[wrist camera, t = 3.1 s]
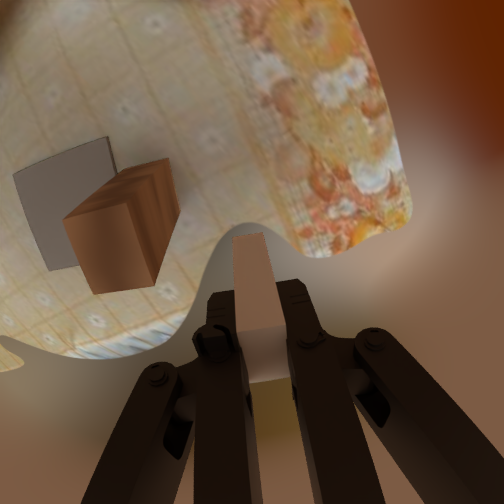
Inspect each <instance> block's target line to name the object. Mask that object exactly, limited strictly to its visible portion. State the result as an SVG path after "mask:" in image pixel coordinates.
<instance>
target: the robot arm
mask: <svg viewBox="0 0 504 504" xmlns="http://www.w3.org/2000/svg"><path fill="white" fill-rule="evenodd" d="M232 241H233V242H232V243H233V265H234V266H233V268H234V290H229V291H222V292H216V293H213V294H212V295H211V297H210V298H209V300H208V302H207V316H206V317H207V319H206V324H205V325H203V326H202V327H200V328H198V330H197V331H196V332H195V333H194V335H193V338H192V340H193V343H194V346H195V348H196V351H197V353H198V357H197V358H196V359H195V360H193V361H192V362H189V363H187V364H185V365H182V366H179V367H174V366H173V365H172V364H171V363H168V362H157V363H154V364H151V365H149V366H148V367H147V368H145V369H144V371H143V372H142V373H141V375H140V377H139V379H138V381H137V383H136V385H135V387H134V389H133V391H132V393H131V395H130V397H129V399H128V401H127V403H126V405H125V407H124V409H123V411H122V413H121V415H120V417H119V420H118V421H117V423H116V426H115V428H114V430H113V432H112V434H111V436H110V439H109V441H108V443H107V445H106V447H105V449H104V451H103V454H102V456H101V459H100V460H99V462H98V465H97V467H96V469H95V471H94V474H93V476H92V478H91V480H90V483H89V485H88V487H87V490H86V492H85V494H84V497H83V499H82V502H81V504H173V503H174V500H175V497H176V494H177V491H178V487H179V484H180V481H181V478H182V475H183V472H184V469H185V465H186V462H187V459H188V456H189V453H190V450H191V446H192V443H193V440H194V437H195V445H194V504H263V499H262V490H261V481H260V472H259V463H258V453H257V444H256V434H255V425H254V414H253V405H252V395H251V392H250V388H249V383H255V382H262V381H268V380H275V379H280V378H286V377H291V381H292V395H293V400H294V401H295V406H296V411H297V416H298V421H299V425H300V431H301V436H302V441H303V446H304V450H305V456H306V461H307V466H308V471H309V476H310V481H311V487H312V492H313V497H314V503H315V504H386V503H385V500H384V496H383V493H382V489H381V486H380V483H379V479H378V476H377V473H376V470H375V466H374V463H373V460H372V457H371V454H370V451H369V447H368V444H367V441H366V438H365V435H364V433H363V429H362V426H361V423H360V420H359V418H358V415H357V412H356V409H355V406H354V404H355V405H356V407H357V408H358V409H359V411H360V412H361V414H362V415H363V416H364V418H365V419H366V421H367V422H368V424H369V425H370V427H371V428H372V429H373V431H374V432H375V434H376V435H377V436H378V438H379V439H380V441H381V442H382V443H383V445H384V446H385V448H386V449H387V451H388V452H389V453H390V455H391V456H392V457H393V459H394V461H395V462H396V464H397V465H398V466H399V468H400V469H401V471H402V472H403V473H404V475H405V476H406V478H407V479H408V480H409V482H410V483H411V485H412V486H413V488H414V489H415V490H416V492H417V493H418V494H419V496H420V498H421V499H422V500H423V502H424V503H425V504H504V458H503V457H502V456H501V454H500V453H499V452H498V451H497V450H496V448H495V447H494V446H493V445H492V444H491V443H490V441H489V440H488V439H487V438H486V437H485V435H484V434H483V433H482V432H481V431H480V430H479V429H478V427H477V426H476V425H475V424H474V423H473V422H472V420H471V419H470V418H469V417H468V416H467V415H466V414H465V413H464V411H463V410H462V409H461V408H460V407H459V406H458V405H457V404H456V402H455V401H454V400H453V399H452V398H451V397H450V396H449V395H448V394H447V393H446V392H445V390H444V389H443V388H442V387H441V386H440V385H439V384H438V383H437V382H436V381H435V380H434V379H433V377H432V376H431V375H430V374H429V373H428V372H427V371H426V370H425V369H424V368H423V367H422V366H421V365H420V364H419V363H418V362H417V360H416V359H415V358H414V357H413V356H412V355H411V354H410V353H409V352H408V351H407V350H406V349H405V348H404V347H403V346H402V345H401V344H400V343H399V342H398V341H397V340H396V339H395V338H394V337H393V336H392V335H391V334H390V333H389V332H387V331H386V330H384V329H381V328H367V329H364V330H362V331H361V332H359V333H358V334H357V336H356V338H338V337H334V336H331V335H329V334H328V333H327V332H326V331H325V330H323V329H322V327H321V325H320V323H319V320H318V317H317V314H316V312H315V309H314V306H313V304H312V302H311V299H310V296H309V294H308V291H307V288H306V286H305V284H304V283H302V282H301V281H300V280H299V279H292V280H287V281H280V282H275V279H274V275H273V271H272V267H271V264H270V259H269V255H268V251H267V247H266V244H265V239H264V235H263V233H262V232H261V233H255V234H249V235H243V236H236V237H232ZM353 402H354V403H353Z"/></svg>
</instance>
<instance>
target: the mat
mask: <svg viewBox="0 0 504 504" xmlns="http://www.w3.org/2000/svg"><path fill="white" fill-rule="evenodd" d="M116 175H117V171H116V167H115V163H114V160H113V155H112V151H111V147H110V143H109V139H108V136H107V137H104V138H101V139H98V140H95V141H92V142H89V143H86V144H84V145H81V146H78V147H76V148H73V149H70V150H68V151H65V152H63V153H60V154H58V155H55V156H53V157H50V158H48V159H46V160H43V161H41V162H39V163H37V164H34V165H32V166H30V167H28V168H26V169H24V170H21V171H19V172H17V173H15V174H13V178H14V181H15V185H16V188H17V191H18V194H19V197H20V200H21V203H22V206H23V209H24V212H25V215H26V218H27V220H28V223H29V226H30V228H31V231H32V233H33V236H34V238H35V241H36V243H37V245H38V248H39V250H40V252H41V255H42V257H43V259H44V261H45V264H46V266H47V268H48V270H49V271H53V270H59V269H64V268H69V267H74V266H79V265H80V264H79V262H78V260H77V257H76V255H75V252H74V250H73V248H72V245H71V243H70V240H69V238H68V235H67V232H66V230H65V227H64V224H63V222H62V219H63V218H65V217H66V216H67V215H68V214H69V213H70V212H71V211H73V210H74V209H75V208H76V207H77V206H78V205H80V204H81V203H82V202H83V201H84V200H85V199H87V198H88V197H89V196H90V195H92V194H93V193H94V192H95V191H96V190H98V189H99V188H100V187H101V186H103V185H104V184H105V183H107V182H108V181H109V180H110V179H112V178H113V177H114V176H116Z"/></svg>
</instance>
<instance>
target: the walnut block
mask: <svg viewBox="0 0 504 504" xmlns="http://www.w3.org/2000/svg"><path fill="white" fill-rule="evenodd" d="M180 211H181V210H180V206H179V202H178V198H177V193H176V189H175V185H174V181H173V176H172V172H171V167H170V163H169V158H166V159H161V160H157V161H153V162H149V163H145V164H141V165H137V166H133V167H129V168H126V169H124V170H122V171H121V172H120V173H118V174H117V175H116V176H114V177H113V178H112V179H110V180H109V181H108V182H107V183H105V184H104V185H103V186H101V187H100V188H99V189H98V190H96V191H95V192H94V193H93V194H92V195H90V196H89V197H88V198H87V199H85V200H84V201H83V202H82V203H81V204H80V205H78V206H77V207H76V208H75V209H74V210H73V211H71V212H70V213H69V214H68V215H67V216H66V217H65V218H63V219H62V222H63V224H64V227H65V230H66V232H67V235H68V238H69V240H70V243H71V245H72V248H73V250H74V252H75V255H76V257H77V260H78V262H79V264H80V266H81V269H82V271H83V273H84V275H85V277H86V280H87V282H88V284H89V286H90V288H91V290H92V292H93V294H94V295H95V294H102V293H109V292H116V291H123V290H130V289H137V288H144V287H151V286H155V283H156V279H157V276H158V273H159V270H160V267H161V264H162V261H163V258H164V256H165V253H166V250H167V247H168V244H169V241H170V238H171V236H172V233H173V230H174V227H175V225H176V222H177V219H178V217H179V214H180Z"/></svg>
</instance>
